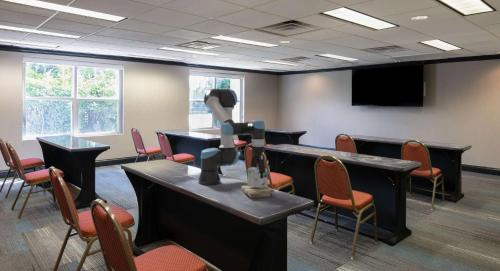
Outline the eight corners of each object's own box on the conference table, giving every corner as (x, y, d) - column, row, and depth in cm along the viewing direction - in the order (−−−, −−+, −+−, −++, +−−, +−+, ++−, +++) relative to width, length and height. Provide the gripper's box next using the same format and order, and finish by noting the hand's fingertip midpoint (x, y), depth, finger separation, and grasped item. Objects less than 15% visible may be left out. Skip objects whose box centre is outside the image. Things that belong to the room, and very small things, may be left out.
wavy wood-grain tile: (240, 191, 210) (240, 185, 209) (264, 190, 215) (264, 183, 214) (248, 199, 194) (249, 192, 194) (274, 197, 199) (274, 190, 199)
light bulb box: (267, 186, 204) (268, 168, 202) (261, 188, 198) (261, 170, 197) (253, 183, 210) (253, 166, 209) (246, 185, 204) (247, 168, 203)
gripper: (245, 143, 212) (245, 177, 214) (259, 148, 189) (258, 186, 191) (257, 143, 214) (256, 176, 216) (271, 148, 191) (270, 185, 193)
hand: (257, 181), depth 204 cm, fingers closed on light bulb box, 12 cm apart
